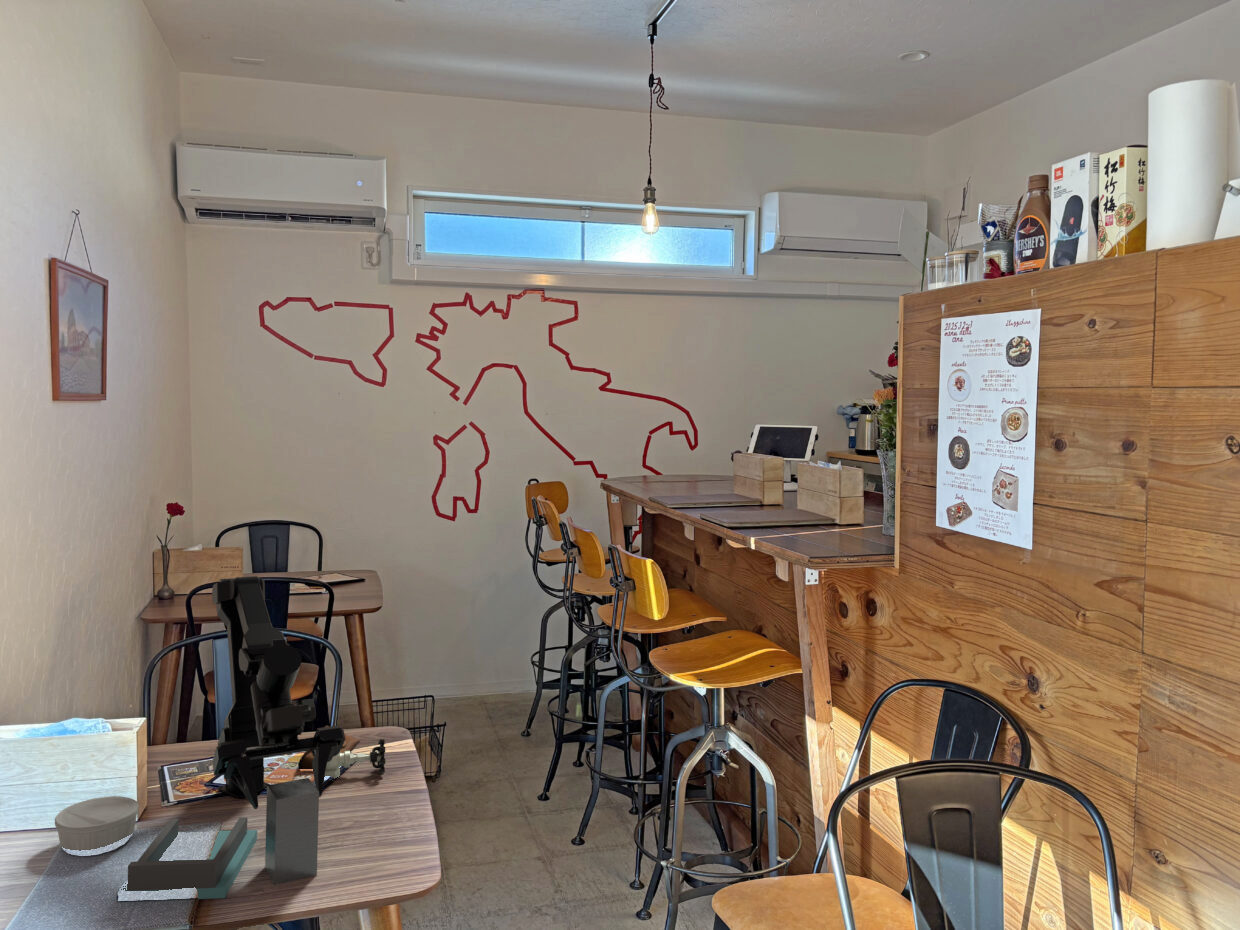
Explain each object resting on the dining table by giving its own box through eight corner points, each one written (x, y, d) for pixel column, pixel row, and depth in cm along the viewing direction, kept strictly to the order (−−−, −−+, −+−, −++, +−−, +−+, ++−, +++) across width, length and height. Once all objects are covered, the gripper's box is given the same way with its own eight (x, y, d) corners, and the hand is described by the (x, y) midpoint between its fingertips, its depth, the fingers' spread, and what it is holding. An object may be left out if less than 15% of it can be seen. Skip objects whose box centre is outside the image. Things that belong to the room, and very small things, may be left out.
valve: (317, 785, 165) (384, 779, 169) (318, 750, 164) (385, 745, 168) (317, 772, 171) (382, 766, 175) (318, 738, 171) (383, 733, 175)
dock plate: (163, 841, 140) (164, 810, 140) (257, 839, 143) (257, 808, 142) (116, 902, 123) (117, 866, 122) (224, 898, 125) (225, 862, 125)
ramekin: (40, 862, 133) (41, 827, 132) (74, 829, 144) (74, 796, 144) (121, 859, 134) (122, 825, 134) (148, 826, 145) (149, 794, 145)
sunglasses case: (343, 772, 171) (325, 742, 170) (310, 790, 170) (292, 760, 170) (361, 739, 189) (345, 712, 188) (331, 756, 188) (315, 729, 188)
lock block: (265, 867, 134) (267, 785, 133) (306, 858, 137) (308, 777, 137) (274, 885, 129) (276, 799, 128) (316, 875, 132) (319, 791, 132)
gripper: (217, 690, 133) (230, 789, 124) (343, 675, 144) (363, 765, 135) (207, 727, 140) (218, 823, 131) (328, 710, 150) (346, 798, 142)
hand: (288, 801), depth 134 cm, fingers open, 9 cm apart
